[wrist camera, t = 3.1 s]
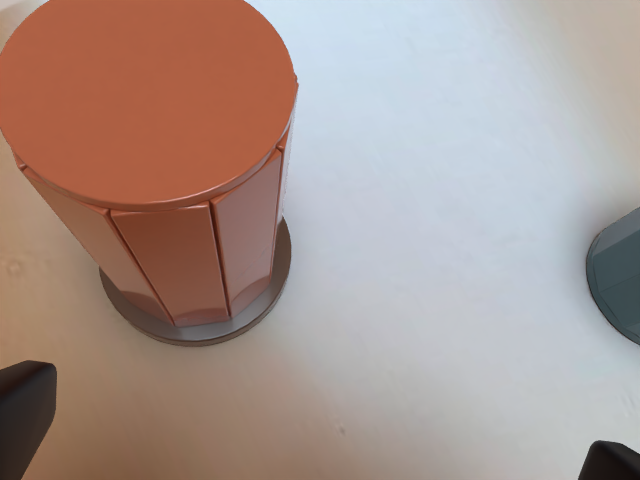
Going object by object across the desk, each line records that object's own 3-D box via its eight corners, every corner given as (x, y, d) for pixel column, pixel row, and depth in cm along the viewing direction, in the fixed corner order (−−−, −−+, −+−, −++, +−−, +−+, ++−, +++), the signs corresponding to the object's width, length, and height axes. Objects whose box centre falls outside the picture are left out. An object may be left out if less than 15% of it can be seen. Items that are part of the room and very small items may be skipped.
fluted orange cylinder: (149, 357, 20) (44, 260, 10) (91, 209, 22) (-44, 6, 12) (304, 286, 22) (347, 145, 12) (236, 157, 24) (225, -55, 14)
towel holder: (143, 381, 20) (102, 355, 15) (79, 215, 23) (24, 140, 17) (320, 297, 23) (342, 248, 17) (245, 155, 25) (243, 73, 20)
